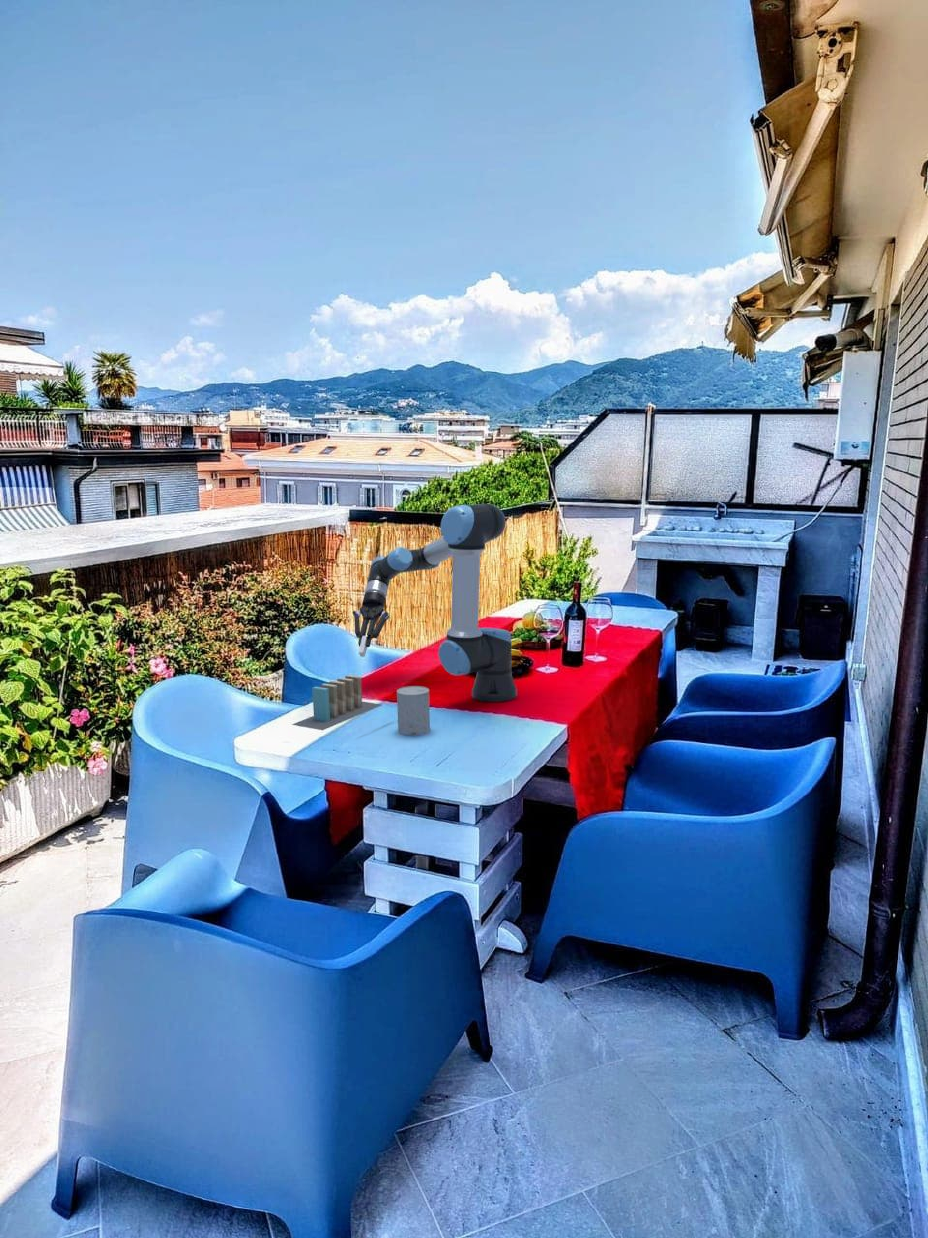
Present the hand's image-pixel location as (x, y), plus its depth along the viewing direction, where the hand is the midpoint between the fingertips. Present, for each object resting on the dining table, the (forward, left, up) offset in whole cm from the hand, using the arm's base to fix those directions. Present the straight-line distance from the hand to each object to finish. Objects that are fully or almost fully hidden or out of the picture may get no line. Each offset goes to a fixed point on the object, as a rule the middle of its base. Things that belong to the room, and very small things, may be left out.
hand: (361, 654), depth 283 cm
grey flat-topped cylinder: (-39, +7, -16) cm, 42 cm away
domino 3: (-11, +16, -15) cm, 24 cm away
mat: (-12, +17, -16) cm, 26 cm away
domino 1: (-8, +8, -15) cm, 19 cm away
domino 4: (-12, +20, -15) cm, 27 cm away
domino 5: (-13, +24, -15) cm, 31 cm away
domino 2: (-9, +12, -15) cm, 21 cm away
